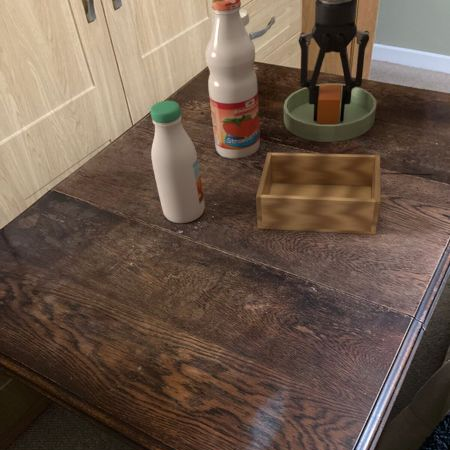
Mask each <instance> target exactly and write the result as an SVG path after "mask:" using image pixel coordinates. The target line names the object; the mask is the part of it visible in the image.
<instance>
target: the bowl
mask: <svg viewBox="0 0 450 450" xmlns="http://www.w3.org/2000/svg"><path fill="white" fill-rule="evenodd" d="M341 84H342V88H343V85H345V83H334V82H333V83H330V82H329V83H319V84H318V85H319V91H320V85H341ZM341 100H342V90H341ZM340 112H341V103H340ZM376 112H377V99H376V98H375V97H374V95H373V93H371V92H370V91H368V90H366V89H365V88H362V87H355V88H353V89H352V93H351V102H350V104H345V108H344V120H343V121H340V115H339V124H335V125H320V124H317V121H313V119H314V104H309V89H308V88H306V87H304V88H303V87H301V88H300V89H298V90H296V91H294V92H292V93H291V94H289V96H288V97H287V98H286V99H284V104H283V124H284V127H285V128H286V130H287V131H289V133H291V134H292V135H294V136H296V137H298V138H300V139H302V140H307V141H310V142H311V141H312V142H318V143H336V142H343V141H348V140H349V141H350V140H352V139H356V138H358V137H360V136H362V135H364V134H366V133H367V132H368V131H370V129H371V128H372V127H373V126H374V124H375V120H376Z"/></svg>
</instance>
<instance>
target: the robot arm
mask: <svg viewBox="0 0 450 450" xmlns="http://www.w3.org/2000/svg"><path fill="white" fill-rule="evenodd" d="M314 3H315V4H314V23H313V27H312V29H311V31H308V32H301V33H300V34H299V37H298V44H299V47H300V50H301V52H300V87H301V88H305V87H306V88H308V89H309V104H314V119H313V121H317V115H318V98H319V84H317V83H318V79H319V76H320V72H321V69H322V66H323V62H324V59H325V57H326V54H329V53H336V54H337V53H339V56H340V62H341V68H342V73H343V74H342V75H343V78H344V84H345V85H343V88H342V100H341V112H340V121H343V120H344V108H345V104H350V102H351V93H352V89H353V88H355V87H359V88H361V87H362V81H363V73H364V64H365V54H366V53H365V52H366V48H367V45H368V43H369V40H370V32H369V30H364V31H363V30H359V29H358V26H357V24H356V16H357V6H358V0H315V2H314ZM354 38H355V39H356V44H357V45H358V48H357V58H356V71H355V77H354V78H353V77H352V72H351V64H350V59H349V53H348V46H349V45H350V43H352V41H353V40H354ZM312 39H313V40H314V42H315V43H316V45H317V46H318V47H319V49H318V54H317V57H316V61H315V64H314V68H313V70H312V75H311V77H310V79H309V78H308V74H309V73H308V72H309V71H308V70H309V46H310V45H311V44H312V43H311V42H312Z"/></svg>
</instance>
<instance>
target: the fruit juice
mask: <svg viewBox="0 0 450 450" xmlns="http://www.w3.org/2000/svg"><path fill="white" fill-rule="evenodd" d="M241 5H242V2H241V0H211V8H212V9H211V10H212V13H213V14H214V18H213V19H214V24H213V28H212V30H211V35H210V38H209V40H208V43H207V45H206V47H205V55H204V56H205V61H206V65H207V68H208V70H209V76H208V81H207V82H208V83H207V86H208V87H207V88H208V97H209V104H210V113H211V121H212V130H213V139H214V146H215V150H216V152H217V154H218V155H220V157H222V158H226V159H242V158H247V157H249V156H252V155H254V154H255V153H257V151H258V150H259V149H260V146H261V135H260V134H261V131H260V109H259V90H258V89H259V87H258V86H259V85H258V78H257V77H258V76H257V74H256V71H255V69H254V64H255V61H256V48H255V44H254V42H253V40H252V39H251V37H250V36H249V34H248V32H247V29H246V26H245V27H244V24H243V22H242V19H241V16H240V13H239V10H240V9H242V6H241Z"/></svg>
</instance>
